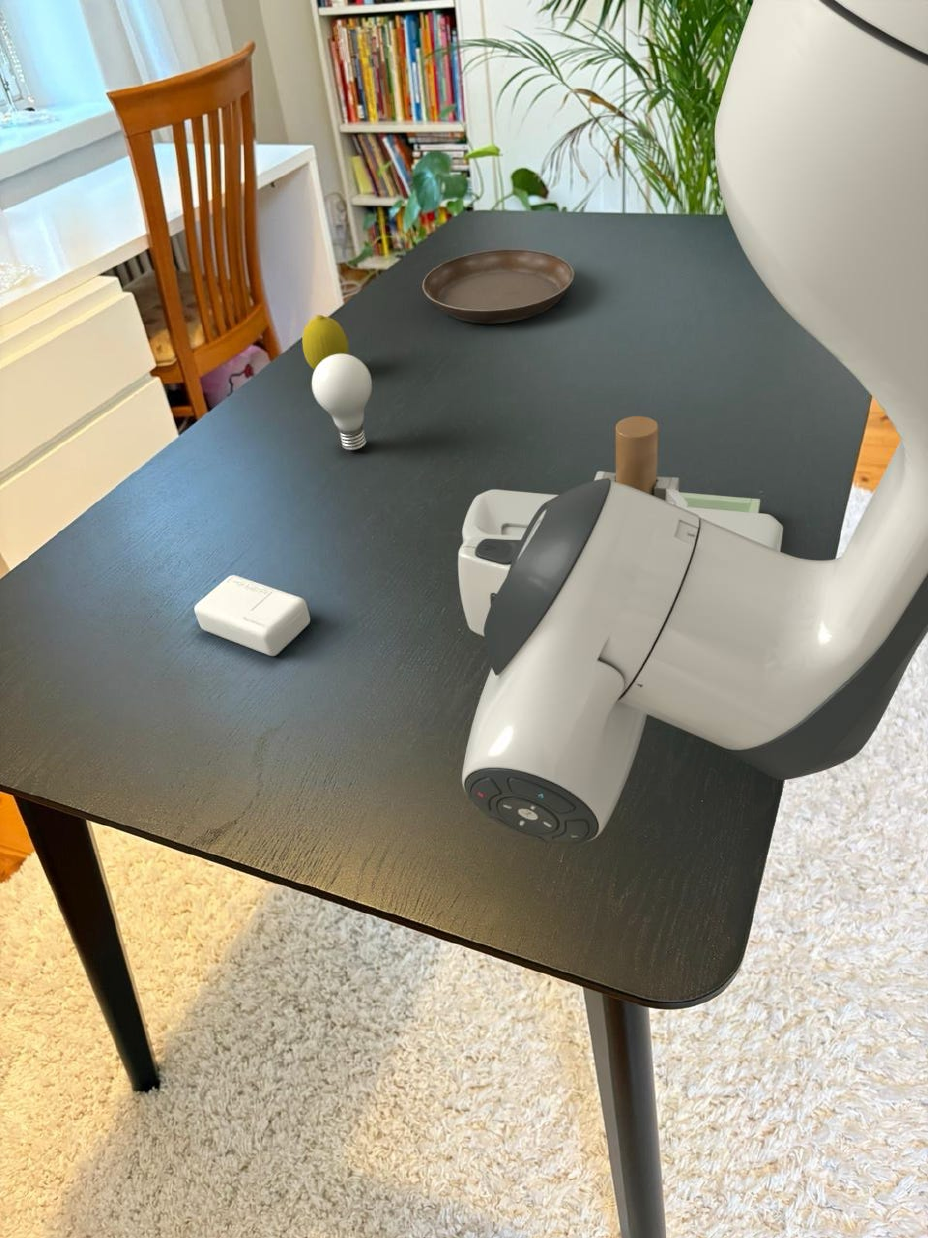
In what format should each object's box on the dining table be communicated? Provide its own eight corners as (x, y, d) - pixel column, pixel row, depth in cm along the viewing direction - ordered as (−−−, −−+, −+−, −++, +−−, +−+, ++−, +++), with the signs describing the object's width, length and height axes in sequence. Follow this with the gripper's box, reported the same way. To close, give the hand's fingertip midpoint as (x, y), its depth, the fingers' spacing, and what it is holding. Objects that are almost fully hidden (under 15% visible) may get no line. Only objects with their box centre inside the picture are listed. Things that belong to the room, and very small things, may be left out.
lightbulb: (361, 468, 105) (342, 375, 98) (315, 457, 108) (293, 365, 100) (394, 440, 109) (378, 348, 101) (349, 429, 111) (330, 339, 104)
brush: (679, 562, 73) (687, 413, 65) (671, 595, 70) (678, 445, 62) (600, 554, 75) (598, 408, 67) (589, 586, 72) (585, 438, 64)
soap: (198, 631, 87) (188, 605, 85) (239, 595, 90) (231, 570, 88) (275, 661, 83) (266, 635, 81) (314, 622, 86) (307, 596, 84)
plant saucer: (600, 279, 136) (600, 256, 134) (528, 342, 124) (526, 317, 121) (475, 263, 146) (473, 241, 143) (396, 320, 133) (392, 296, 131)
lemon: (361, 368, 123) (349, 307, 118) (339, 389, 119) (326, 327, 114) (324, 364, 125) (311, 304, 120) (301, 384, 121) (287, 323, 116)
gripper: (782, 587, 53) (798, 454, 63) (433, 548, 60) (497, 433, 69) (770, 670, 57) (787, 533, 67) (445, 626, 64) (504, 506, 73)
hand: (637, 482), depth 68 cm, fingers closed on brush, 3 cm apart
